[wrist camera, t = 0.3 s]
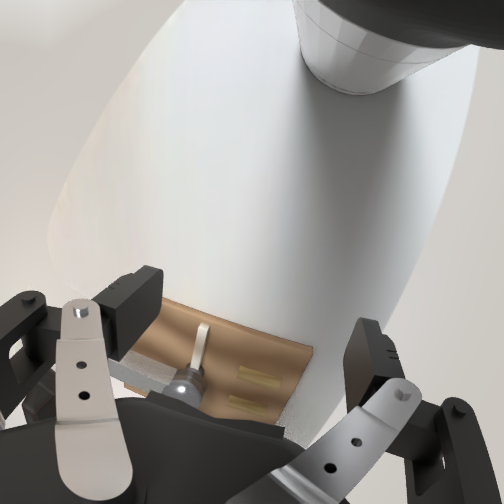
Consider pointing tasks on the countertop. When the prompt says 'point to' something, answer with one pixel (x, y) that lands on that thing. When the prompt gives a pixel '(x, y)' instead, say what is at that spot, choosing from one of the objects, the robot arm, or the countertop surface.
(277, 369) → the door board
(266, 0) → the countertop surface
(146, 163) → the countertop surface
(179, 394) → the bar
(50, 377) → the barrier
